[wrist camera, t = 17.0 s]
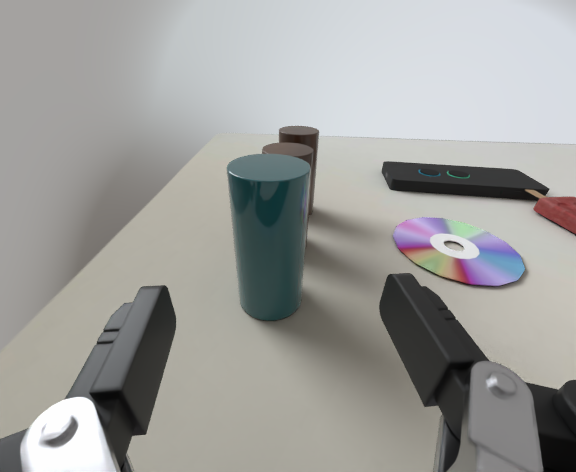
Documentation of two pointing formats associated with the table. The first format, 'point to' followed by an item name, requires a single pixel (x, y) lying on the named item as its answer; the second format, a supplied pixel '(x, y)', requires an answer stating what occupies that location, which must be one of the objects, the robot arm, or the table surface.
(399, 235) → the cd
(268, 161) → the teal cylinder
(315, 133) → the cylinder
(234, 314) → the table surface
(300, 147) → the brown wooden cylinder
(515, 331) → the table surface
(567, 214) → the popsicle
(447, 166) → the smart home device
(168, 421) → the table surface
